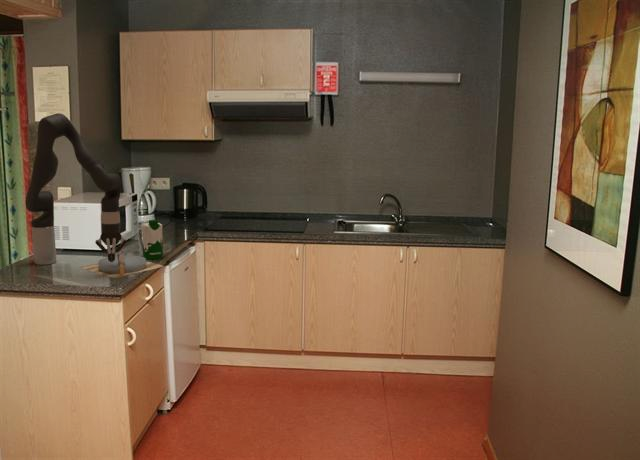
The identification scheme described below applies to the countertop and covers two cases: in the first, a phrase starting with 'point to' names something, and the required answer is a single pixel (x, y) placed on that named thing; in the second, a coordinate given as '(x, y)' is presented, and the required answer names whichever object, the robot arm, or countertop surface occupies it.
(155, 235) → the milk carton
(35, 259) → the robot arm
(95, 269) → the birch board
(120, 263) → the cam dial
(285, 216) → the countertop surface
